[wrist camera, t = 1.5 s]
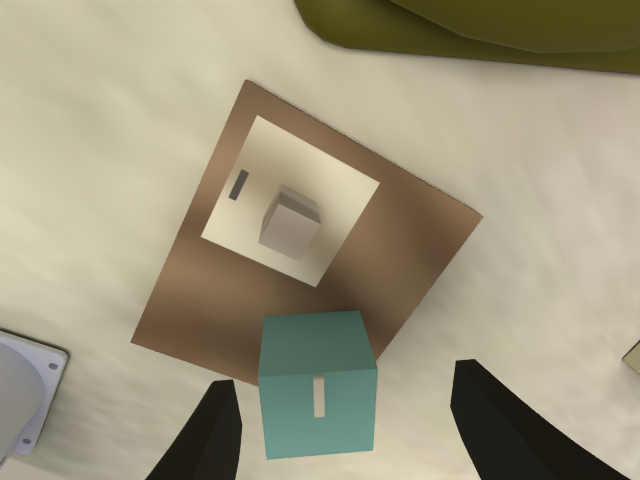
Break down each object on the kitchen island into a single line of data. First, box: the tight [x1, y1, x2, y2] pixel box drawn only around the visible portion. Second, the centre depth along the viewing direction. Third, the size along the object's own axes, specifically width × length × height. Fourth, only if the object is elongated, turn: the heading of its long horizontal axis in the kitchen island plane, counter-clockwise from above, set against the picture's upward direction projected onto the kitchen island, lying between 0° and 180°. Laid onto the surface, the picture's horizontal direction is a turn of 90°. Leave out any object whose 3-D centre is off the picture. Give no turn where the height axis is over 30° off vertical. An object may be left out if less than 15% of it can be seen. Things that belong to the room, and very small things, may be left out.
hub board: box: [131, 80, 484, 387], centre depth 19 cm, size 16×14×4 cm
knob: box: [258, 310, 378, 460], centre depth 20 cm, size 6×6×5 cm
